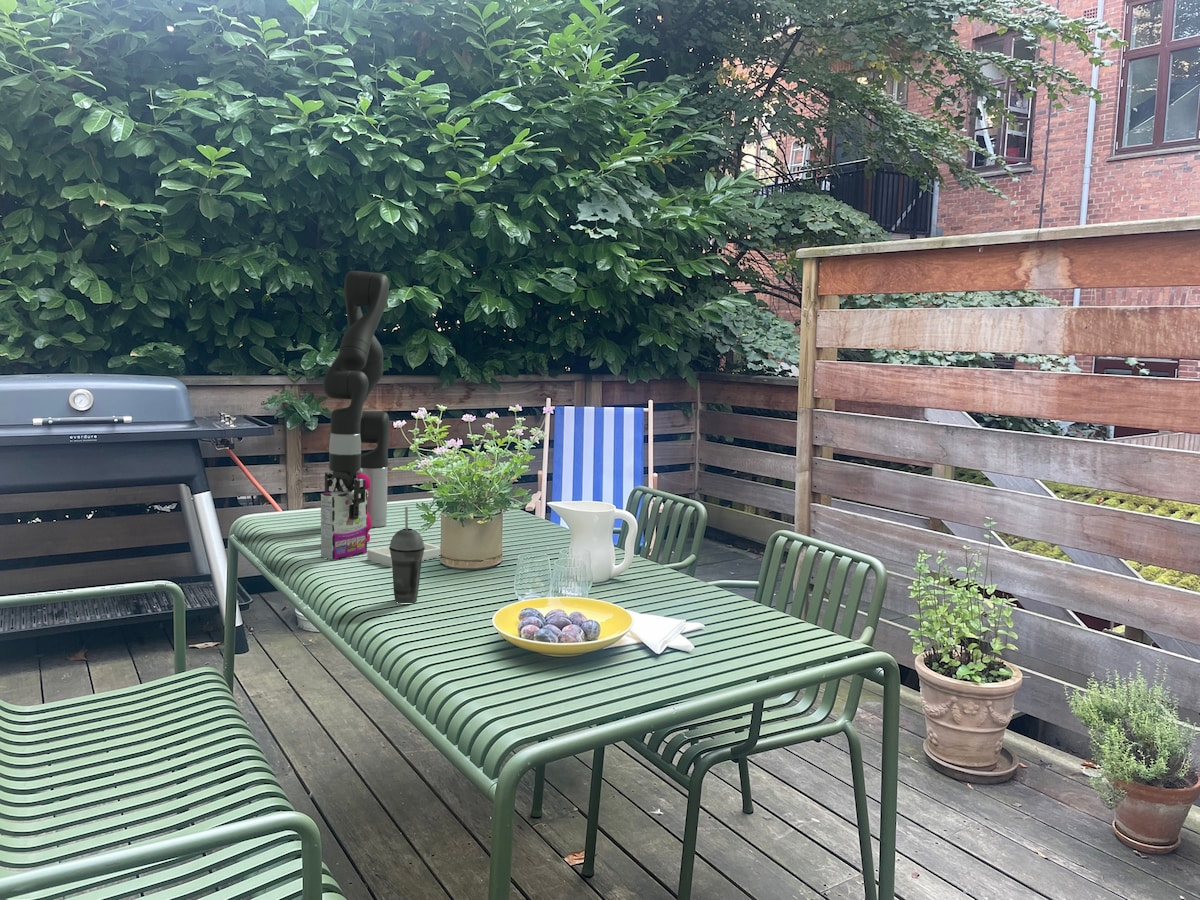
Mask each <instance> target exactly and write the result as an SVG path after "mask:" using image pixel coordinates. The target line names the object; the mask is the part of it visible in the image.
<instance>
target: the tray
mask: <svg viewBox="0 0 1200 900" xmlns="http://www.w3.org/2000/svg"><path fill="white" fill-rule="evenodd" d="M389 547H390V545H388V546H383V547H379V548H371V549H367V553H366V555H367V559H368V561H370V560H371V562H374V563H378V564H381V565H383V566H387V567H390V568H392V558H391V554H390V549H389ZM424 547H425V549H424V554H423V558H422V562H425V561H424V560H427V561H430V560H429V559H432V560H434V559H433V558H437V557H439V555H440V547H441V546H438V545H435V544H431V543H428V542H424ZM367 559H366V560H367ZM437 559H438V558H437Z"/></svg>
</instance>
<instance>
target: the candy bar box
mask: <svg viewBox="0 0 1200 900" xmlns="http://www.w3.org/2000/svg"><path fill="white" fill-rule="evenodd" d="M352 492H354V490H353V491H352ZM352 498H353V499H354V496H352ZM359 498H361V493H359ZM349 505H350V503H349V500H348V498H347V497H346V496H345V494H344V492H342V491H333V492H327V493H325V492H321V493H320V558H321V557H323V558H322V559H324V558H327V559H326V560H328V559H330V560H329V561H333V560H335V561H339V560H343V559H346V558H347V557H348V558H351V556H352V557H355V555H356V556H359V555H363V554H367V551H368V542H367V490H365V502H363V503H360V504H359V516H358V519H355V520H351V519H349ZM342 558H343V559H342ZM338 559H339V560H338Z"/></svg>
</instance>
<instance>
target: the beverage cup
mask: <svg viewBox="0 0 1200 900" xmlns="http://www.w3.org/2000/svg"><path fill="white" fill-rule="evenodd" d="M408 508H409V507H408V506H404V510H405V511H404V512H405V513H404V514H405V515H404V517H405V518H404V519H405V521H404V524H405V527H404V528H402V529H400V530H398V531H396V533H394V535H393V536H392V538H391V540H390V542H389V546H390V547H389V549H390V554H391V558H392V567H391V568H392V569H391V570H392V583H393V594H394V602H395V601H396V602H398V603H414V604H416V603H417V602H418V597H419V596H418V595H419V588H420V579H421V571H422V563H423V561H422V558H423V554H424V549H425V547H424V543H425V542H424V539H423V537H422V535H421V534H420V532H418V531H417V530H415V529H413V528H409V521H408V520H409V514H408V513H409V512H408V510H409V509H408ZM416 601H417V602H416ZM415 602H416V603H415Z"/></svg>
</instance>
